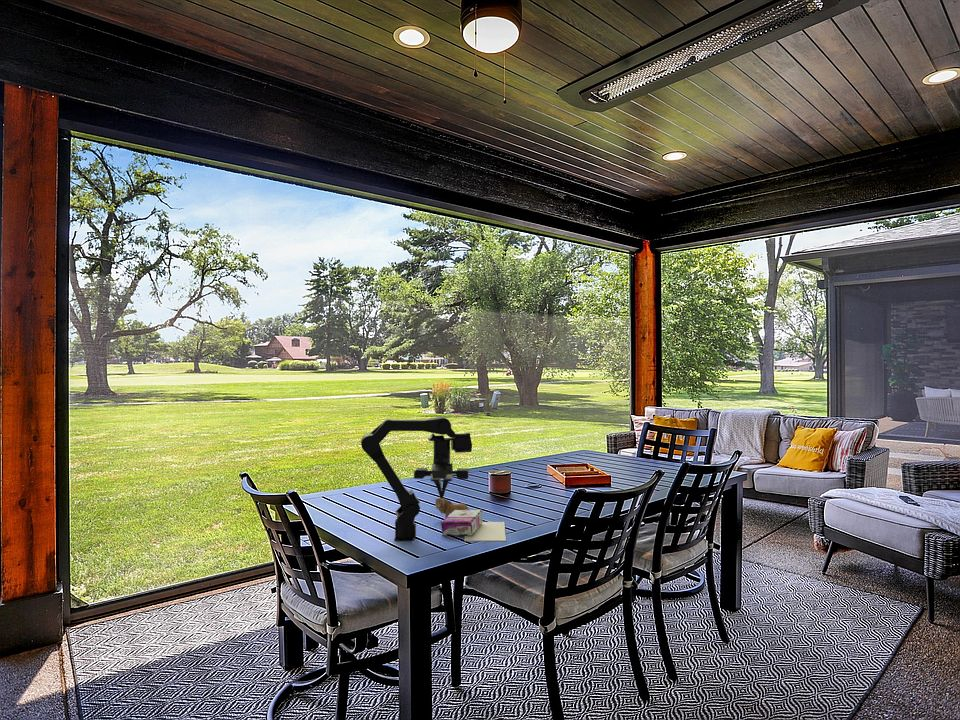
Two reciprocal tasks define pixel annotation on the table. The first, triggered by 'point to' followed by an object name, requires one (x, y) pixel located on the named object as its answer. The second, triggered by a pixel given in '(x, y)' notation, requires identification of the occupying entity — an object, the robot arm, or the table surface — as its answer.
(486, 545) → the table surface
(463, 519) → the candy bar box
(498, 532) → the placemat
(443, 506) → the lion figurine
